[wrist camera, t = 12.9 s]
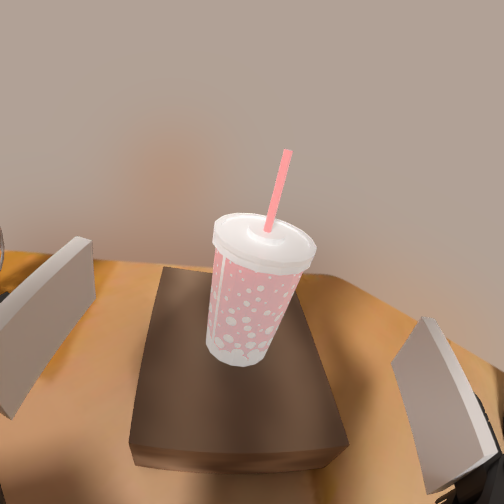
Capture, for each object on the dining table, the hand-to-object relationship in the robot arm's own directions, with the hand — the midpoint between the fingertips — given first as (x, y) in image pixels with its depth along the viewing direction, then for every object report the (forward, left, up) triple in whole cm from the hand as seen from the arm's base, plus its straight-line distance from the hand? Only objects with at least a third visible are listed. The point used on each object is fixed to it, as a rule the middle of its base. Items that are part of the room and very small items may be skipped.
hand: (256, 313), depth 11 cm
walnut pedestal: (-1, -7, -13) cm, 15 cm away
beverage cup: (-2, -7, -9) cm, 12 cm away
